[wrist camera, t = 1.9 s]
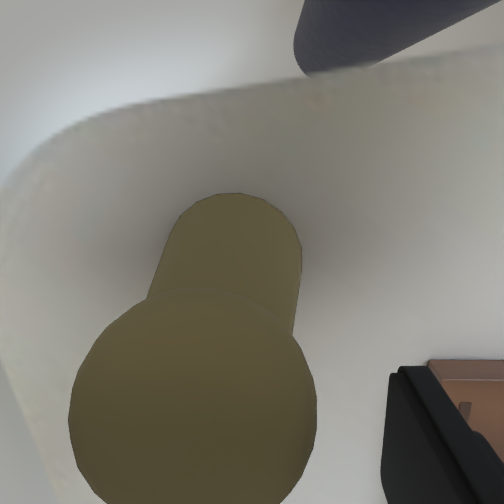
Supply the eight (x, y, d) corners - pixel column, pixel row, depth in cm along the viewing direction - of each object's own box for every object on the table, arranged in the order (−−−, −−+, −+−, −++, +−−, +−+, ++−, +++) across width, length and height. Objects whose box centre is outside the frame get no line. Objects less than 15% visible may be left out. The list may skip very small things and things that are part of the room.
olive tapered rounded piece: (163, 314, 18) (25, 570, 8) (167, 185, 16) (-8, 302, 6) (292, 328, 18) (322, 604, 8) (312, 201, 16) (386, 346, 6)
